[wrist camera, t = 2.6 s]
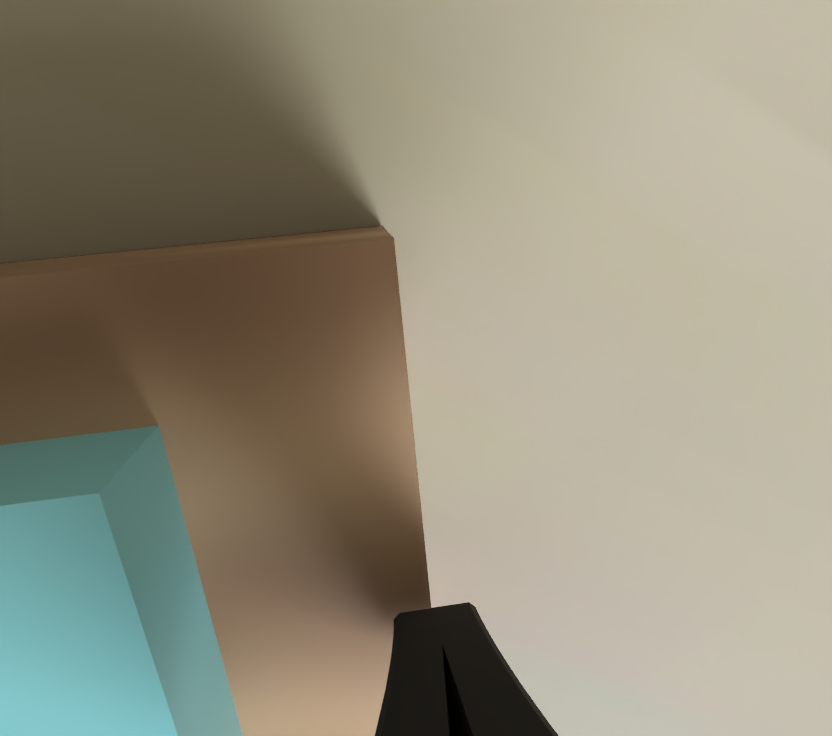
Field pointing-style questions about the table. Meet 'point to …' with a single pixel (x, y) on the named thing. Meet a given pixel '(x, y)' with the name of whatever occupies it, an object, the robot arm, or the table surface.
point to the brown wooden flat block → (250, 442)
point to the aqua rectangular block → (103, 595)
